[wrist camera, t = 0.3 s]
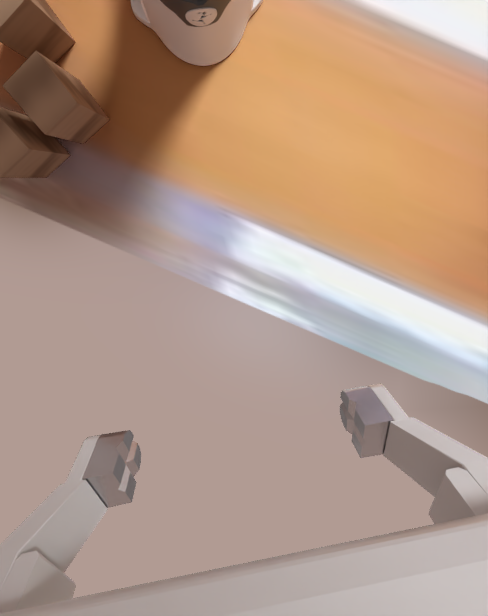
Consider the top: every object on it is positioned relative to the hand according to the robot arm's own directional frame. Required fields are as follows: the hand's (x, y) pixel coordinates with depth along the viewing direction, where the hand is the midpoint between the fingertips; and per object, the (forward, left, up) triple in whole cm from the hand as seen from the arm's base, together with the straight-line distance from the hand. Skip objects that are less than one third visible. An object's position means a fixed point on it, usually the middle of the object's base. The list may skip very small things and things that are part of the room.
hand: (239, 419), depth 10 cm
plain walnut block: (-16, -28, -47) cm, 57 cm away
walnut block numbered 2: (-30, -22, -47) cm, 60 cm away
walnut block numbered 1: (-20, -20, -47) cm, 55 cm away
